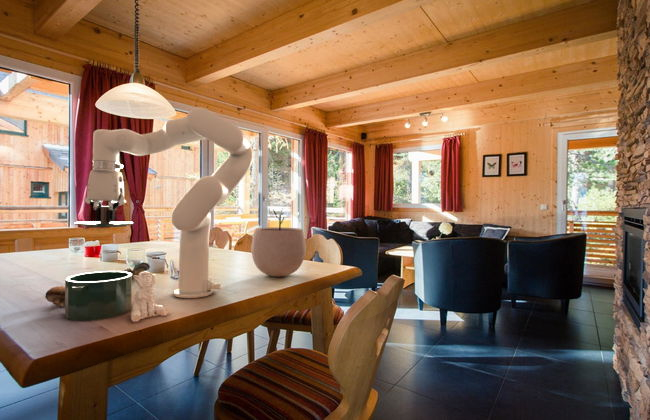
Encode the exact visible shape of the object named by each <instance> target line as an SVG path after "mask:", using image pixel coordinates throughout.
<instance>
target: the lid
mask: <svg viewBox="0 0 650 420" xmlns="http://www.w3.org/2000/svg"><path fill="white" fill-rule="evenodd" d="M107 210H109V205H102V206H100V222H96V220H95V221H94V220H93V221H91V220H90V221H76V222H74V225H77V226H81V227H83V228H84V227H85V228H119V227H120V228H121V227H127V226H131V225H133V224H134V222H133V221H115V220H114V222H107Z"/></svg>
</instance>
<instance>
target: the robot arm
mask: <svg viewBox="0 0 650 420" xmlns="http://www.w3.org/2000/svg"><path fill="white" fill-rule="evenodd" d="M92 134H93V136H92V138H93V140H92V170H90V172H89V175H88V180H87V187H86V194H87V195H86V196H85V198H84V200H83V201H84V203H86V204H88V205H90V206H91V208H93V210H94V219H95V221H96V222H100V206H103V202H108V206H109V210H107V222H114V221H115V219H116V211H117V209H119V207H120V206H122V205H125V204H126V203H127V200H126V198H125V184H124V183H125V182H124V176H123V172H121V171H120V170H121V169H123V168H124V164H121V163H120V152H123V153H127V154H130V155H133V156H137V157H143V156H147V155H153V154H158V153H161V152H165V151H167V150H169V149H172V148H174V147H177V146H180V145H184V144H188V143H194V142H198V141H202V140H207V141H209V142H211V143H213V144H214V145H217V146H218V147H220V148H222V149H223V150H224V151H226V152H227V153H228V156H227V158H226V159H225V160H224V161H223V162H221V164H220V165H219V166H218V168H216V170H215V171H214V172H213V173H212V174H211V175H205V176H202V177H200V178H199V179H197V180H196V181H195V182H194V183H193V184H192V185H191V187H190V188H189V189H188V190H187V191H186V193H184V195H183V196H181V198H180V200H179V201H178V202H177V203H176V204H175V206H174V207H173V209H172V211H171V216H170V220H171V223H172V225H173V227H174V228H175V229H177V230H178V231H180V234H179V235H180V236H179V248H178V249H179V250H178V251H179V255H178V269H179V270H178V288H177V289H175V290H174V291H173V296H174V297H176V298H180V299H197V298H204V297H207V296H210V295H212V294H213V293H214V290H221V287H222V286H221V285H222V284H221V283H219V282H212V279H211V278H209V266H210V265H209V261H210V260H209V257H210V233H211V225H212V214H211V212H212V210H214V208H215V207H216V206H218V205H221V204H223V203H224V202H226V200H227V199H228V198H229V196H230V195H231V193H233V191H234V190H235V189H236V188H237V186H238V185H239V183H240V182H241V181H242V180H243V178H244V177H245V176H246V174H247V173H248V172H249V170H250V168H251V166H252V164H253V161H254V150H253V147H252V144H251V142H250V140H249V138H248V136H247V135H246V134H245V133H244V130H242V129H241V128H240V127H239V126H238V125H236V124H235V123H232V122H230V121H228V120H227V119H225V118H223V117H221V116H220V115H218V114H216V113H215V112H213V111H211V110H210V109H208V108H205V107H201V106H198V107H197V106H196V107H193V108H192V109H191V110H190V109H189V111H188V112H187V114H186V116H183V117H177V118H173V119H169V120H167V121H165V123H164V125H163V127H162V128H160V129H159V130H156V131H152V132H148V133H142V134H140V133H138V132H136V131H133V130H131V129H127V128H122V129H121V128H119V129H112V130H111V129H100V128H99V129H96V130H94V131H93V133H92Z"/></svg>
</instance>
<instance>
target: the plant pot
mask: <svg viewBox="0 0 650 420" xmlns="http://www.w3.org/2000/svg"><path fill="white" fill-rule="evenodd" d="M283 209H284V208H281V211H280V214H279V215H277V212H276V211H275V210H274V209H272V211H273V213H274V215H275V219H276V220H277V219H278V226H277V227H273V226H272V227H271V226H270V227H269V226H268V227H256V228H254V232H253V235H252V241H251V256H252V260H253V263H254V265H255V267H256V268H257V269H258V270H259V272H261V273H263V274H265V275H266V276H270V277H280V278H281V277H287V276H290V275H291V274H294V273H295V272H297V271H298V270H299V268H300V267H301V266H302V264H303V263H304V260H305V256H306V252H307V244H306V237H305V233H304V229H303V228H299V227H298V228H297V227H282V224H283V221H284V220H285V216H283V215H284V212H283ZM282 216H283V217H282Z"/></svg>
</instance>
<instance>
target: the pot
mask: <svg viewBox="0 0 650 420" xmlns="http://www.w3.org/2000/svg"><path fill="white" fill-rule="evenodd" d="M64 283H65V284H64V287H65V303H64V316H65V318H66V319H68V320H72V321H95V320H104V319H110V318H114V317H119V316H122V315H124V314H126V313H128V312H130V311H132V309H131V308H132V305H133V302H132V298H133V296H132V295H133V294H132V293H133V280H132V273H129V272H124V271H122V270H117V271H116V270H106V271H105V270H104V271H92V272H84V273H79V274H74V275H70V276H68V277H66V278H65V281H64Z"/></svg>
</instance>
